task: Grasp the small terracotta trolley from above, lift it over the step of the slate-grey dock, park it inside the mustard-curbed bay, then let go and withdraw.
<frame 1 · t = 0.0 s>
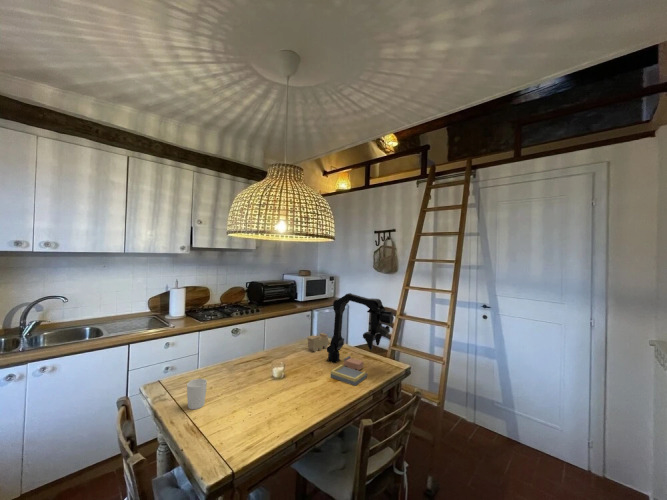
hand: (374, 347, 163), 15 cm above the table, tool pointing down, fingers open, 9 cm apart
white cup: (196, 405, 123), on the table
trolley: (353, 368, 168), on the table
toy train: (318, 349, 198), on the table
dock: (348, 377, 156), on the table
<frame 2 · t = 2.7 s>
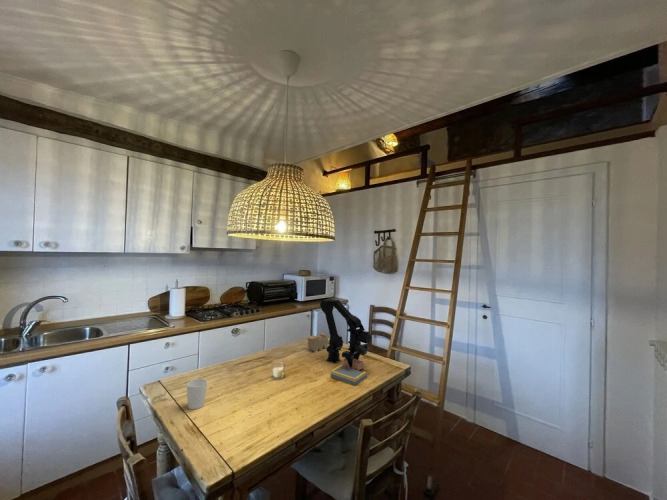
hand: (353, 365, 168), 2 cm above the table, tool pointing down, fingers closed on trolley, 6 cm apart
trolley: (353, 368, 168), on the table, touching gripper
everything else where it was.
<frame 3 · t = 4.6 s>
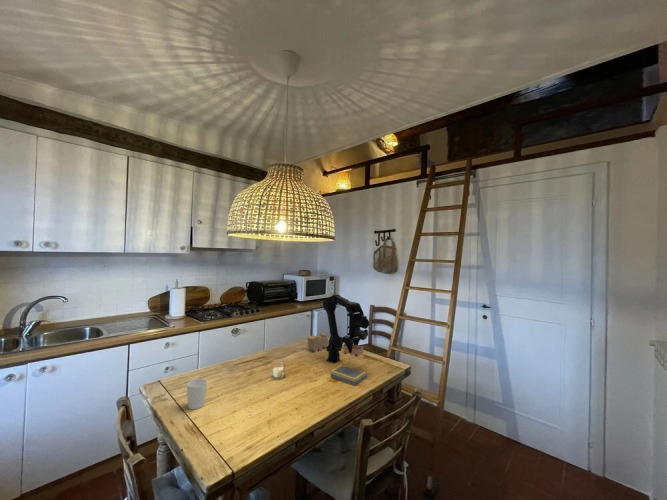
hand: (353, 351, 163), 12 cm above the table, tool pointing down, fingers closed on trolley, 6 cm apart
trolley: (353, 353, 163), point 10 cm above the table, touching gripper
everything else where it was.
when the fingers open (5 cm above the table, at t = 6.7 s): trolley drops 1 cm, resting on dock.
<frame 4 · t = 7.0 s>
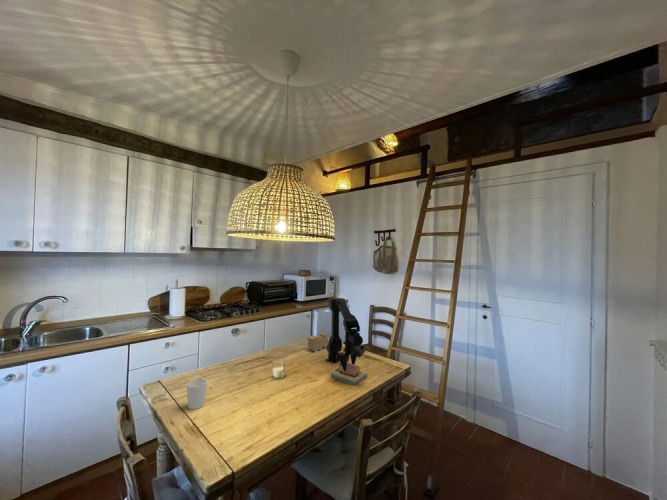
hand: (349, 368, 156), 5 cm above the table, tool pointing down, fingers open, 9 cm apart
trolley: (349, 373, 156), point 2 cm above the table, touching dock
everything else where it was.
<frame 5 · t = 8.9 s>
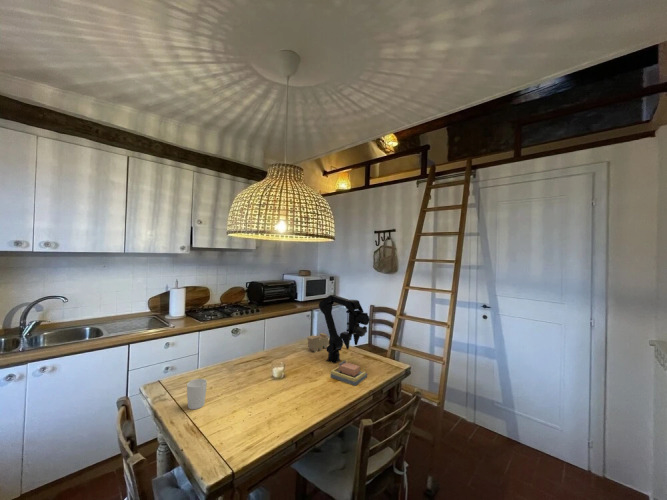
hand: (351, 347, 168), 13 cm above the table, tool pointing down, fingers open, 9 cm apart
nothing on the table moved.
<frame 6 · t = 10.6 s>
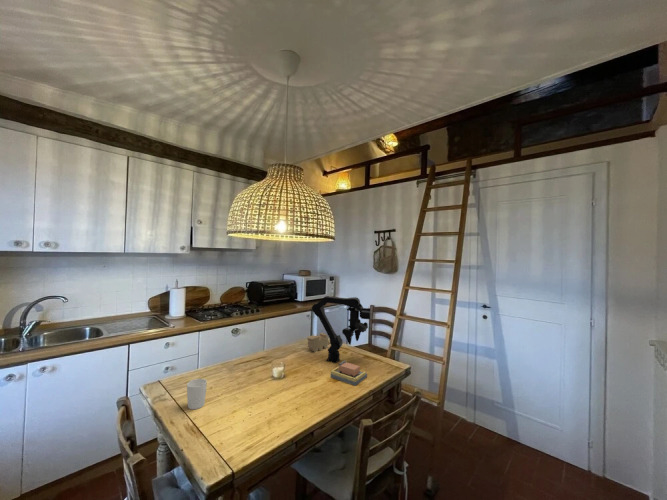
hand: (353, 342, 175), 13 cm above the table, tool pointing down, fingers open, 9 cm apart
nothing on the table moved.
at the end: trolley inside the target area on the dock (0.2 cm from its centre), point 2.0 cm above the dock's base; trolley tilted 0°; the gripper is holding nothing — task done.
